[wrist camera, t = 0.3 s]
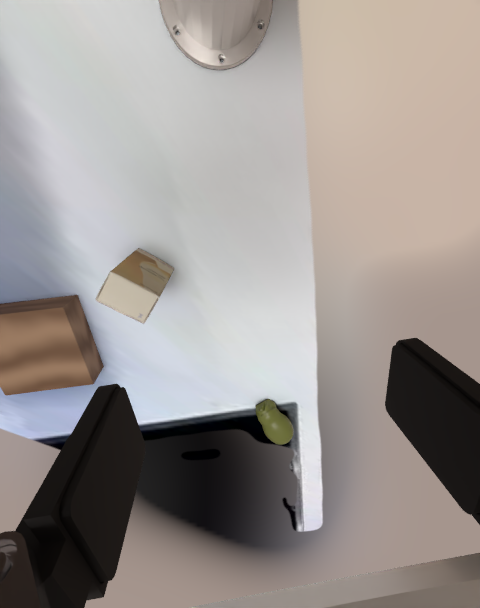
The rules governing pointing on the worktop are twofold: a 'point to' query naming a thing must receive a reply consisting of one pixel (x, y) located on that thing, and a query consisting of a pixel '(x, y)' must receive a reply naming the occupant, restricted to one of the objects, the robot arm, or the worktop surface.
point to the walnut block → (46, 346)
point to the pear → (274, 422)
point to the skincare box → (135, 285)
